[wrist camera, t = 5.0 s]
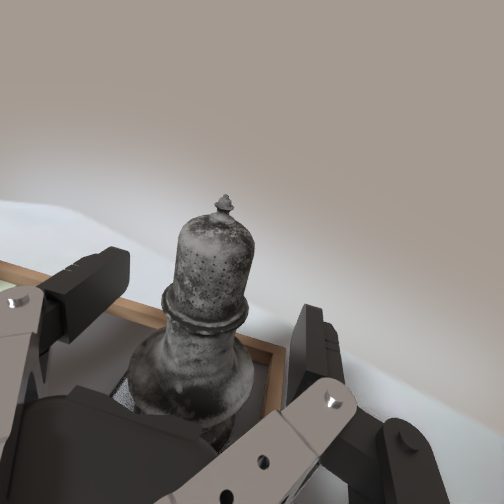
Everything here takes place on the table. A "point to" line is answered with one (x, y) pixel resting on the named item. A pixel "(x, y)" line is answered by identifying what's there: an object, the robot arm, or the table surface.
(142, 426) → the robot arm
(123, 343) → the tray
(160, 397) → the salt shaker
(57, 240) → the table surface
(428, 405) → the table surface
